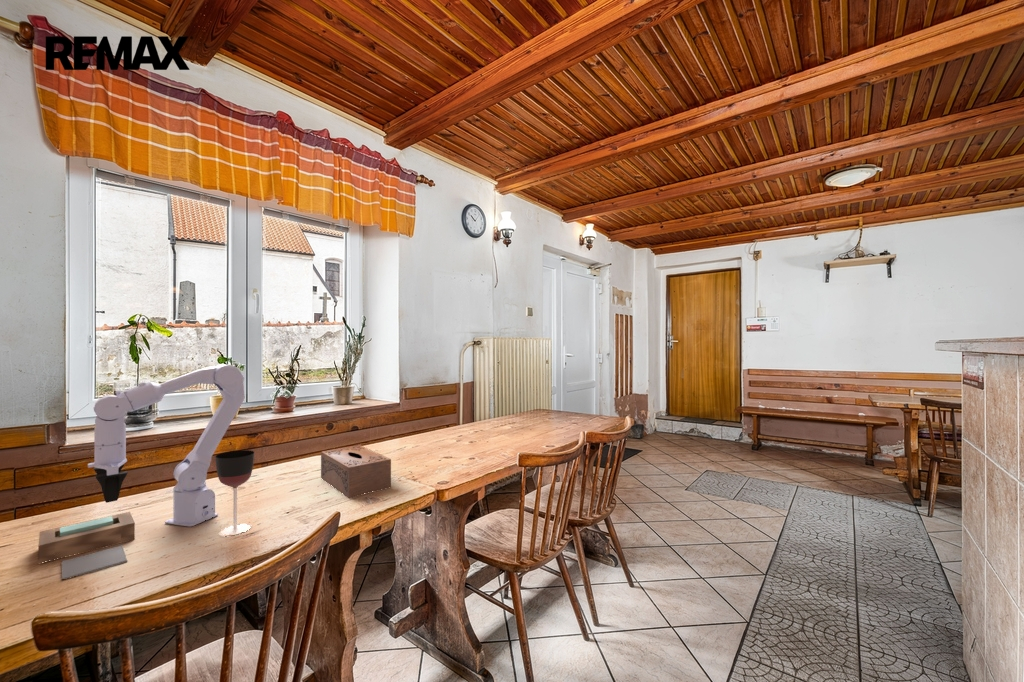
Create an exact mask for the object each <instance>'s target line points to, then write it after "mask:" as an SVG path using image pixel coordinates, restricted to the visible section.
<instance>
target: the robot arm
mask: <svg viewBox="0 0 1024 682" xmlns="http://www.w3.org/2000/svg"><path fill="white" fill-rule="evenodd" d="M244 381H245V377H244V375H243V374H242V372H241V370H240V369H239V368H238V367H237V366H235V365H231V364H226V363H218V364H216V365H214V366H207V367H206V366H205V367H203V368H199V369H195V370H193V371H190V372H189V373H186V374H183V375H180V376H177V377H174V378H172V379H169V380H166V381H164V382H160V383H157V382H153V381H149V382H145V381H142V382H139V383H138V385H136V386H134V387H131V388H127V389H125V390H123V391H121V390H120V389H119V390H116V391H115V394H109V395H105V396H104V395H103V396H102V397H100V398H98V400H97V401H95V403H94V407H93V412H94V413H95V415H96V416H95V417H96V418H95V420H94V423H95V426H94V431H93V432H94V434H93V435H94V461H93V462H90V463H87V468H93V470H94V473H96V474H95V480H96V481H98V482H99V484H100V487H101V491H102V494H103V500H104V502H105V503H106V504H107V503H112V502H116V501H118V500H119V497H120V493H121V488H122V485H123V482H124V480H125V478H126V477H127V475H128V474H129V473H128V470H125V471H122V470H123V468H124V467H125V464H126V463H127V462H128V458H126V457H127V449H126V448H127V424H126V423H125V415H126V413H127V412H129V413H130V412H131V413H133V412H134V411H137V410H140V409H143V408H146V407H149V406H151V405H155V404H157V403H160V402H161V401H162V400H163V398H164V396H166V395H167V394H168V395H169V394H171V393H175V392H177V391H180V390H183V389H186V388H189V387H193V386H195V385H199V384H203V385H205V384H206V385H214V386H216V388H218V390H219V392H220V395H221V397H222V400H221V401H220V403H219V405H218V406H217V408H216V410H215V412H214V413H213V415H212V416H211V418H210V420H209V421H208V424H207V425H206V426H205V428H204V430H203V432H202V434H201V435H200V437H199V438H198V441H197V442H196V444H195V445H194V447H193V448H192V450H191V451H190V452H188V454H187V455H186V456H185V458H184V459H183V460H182V461H181V462H179V463H178V464H176V466H175V468H174V470H173V477H174V480H175V481H177V483H176V484H175V486H174V487H173V489H172V490H173V492H172V493H173V497H172V498H173V504H172V505H173V507H172V508H173V510H172V511H173V512H172V514H173V516H172V518H169V519H166V520H165V521H164V523H165V524H169V525H176V526H182V527H189V528H191V527H194V526H195V525H198V524H200V523H203V522H205V520H206V521H208V520H210V519H212V517H213V518H215V517H217V516H219V513H216V494H215V492H214V490H213V489H210V488H209V487H208V486H207V482H206V480H207V477H208V470H209V467H210V466H211V462H212V457H213V455H214V454H215V451H217V448H218V446H219V444H220V443H221V441H222V439H223V437H224V436H225V434H226V432H227V431H228V429H229V428H230V426H231V424H232V423H233V420H234V418H235V417H236V414H237V413H238V411H239V410H240V408H241V406H242V405H243V402H244V401H245V397H246V396H245V386H244Z"/></svg>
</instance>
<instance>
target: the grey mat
mask: <svg viewBox="0 0 1024 682" xmlns="http://www.w3.org/2000/svg"><path fill="white" fill-rule="evenodd" d="M126 555H127V554H126V553H125V549H124V547H123V545H118V546H115V547H111V548H107V549H103V550H100V551H96V552H93V553H89V554H84V555H81V556H77V557H74V558H70V559H65V560H62V561H61V580H62V579H66V580H68V579H67V578H69V579H71V578H70V577H73V578H75V577H74V576H76V577H79V576H78V575H80V576H83V575H86V573H87V574H89V573H93V572H96V571H97V572H98V571H100V570H104V569H107V568H111V567H114V566H117V565H120V564H121V565H122V564H124V563H128V560H127V556H126ZM82 574H83V575H82Z"/></svg>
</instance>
